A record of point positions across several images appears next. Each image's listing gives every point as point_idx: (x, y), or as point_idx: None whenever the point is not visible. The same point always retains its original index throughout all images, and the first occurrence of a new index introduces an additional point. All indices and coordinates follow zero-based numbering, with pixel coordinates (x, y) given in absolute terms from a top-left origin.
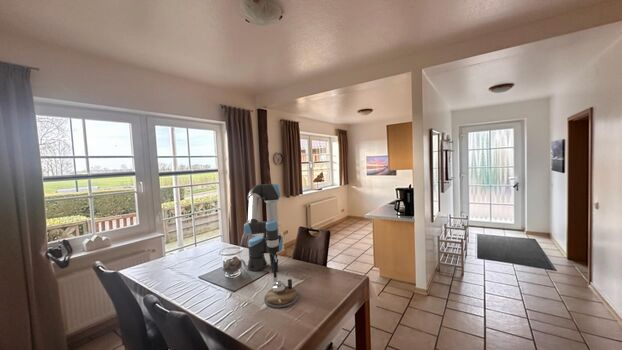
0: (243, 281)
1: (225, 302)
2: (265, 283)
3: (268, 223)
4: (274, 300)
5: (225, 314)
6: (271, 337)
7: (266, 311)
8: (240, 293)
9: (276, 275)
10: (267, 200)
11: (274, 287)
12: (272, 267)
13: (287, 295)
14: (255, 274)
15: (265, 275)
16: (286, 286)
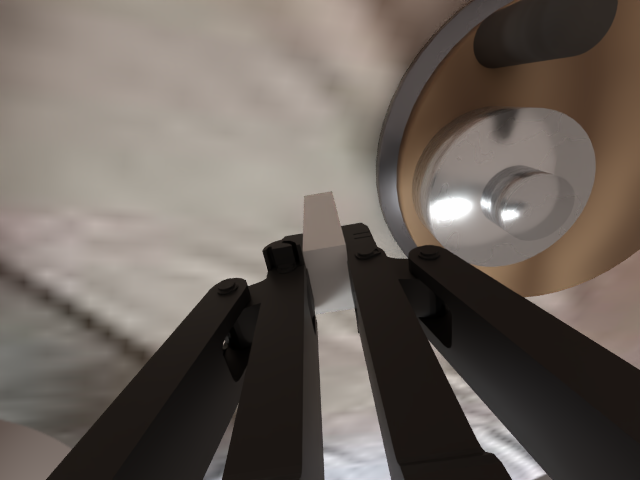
0: None
1: (383, 460)
2: (202, 271)
3: None
4: (627, 238)
5: (498, 448)
6: None
7: (615, 277)
8: None
9: (370, 233)
10: None
11: (524, 246)
12: (316, 362)
13: (636, 105)
14: (10, 342)
15: (30, 266)
16: (439, 85)
